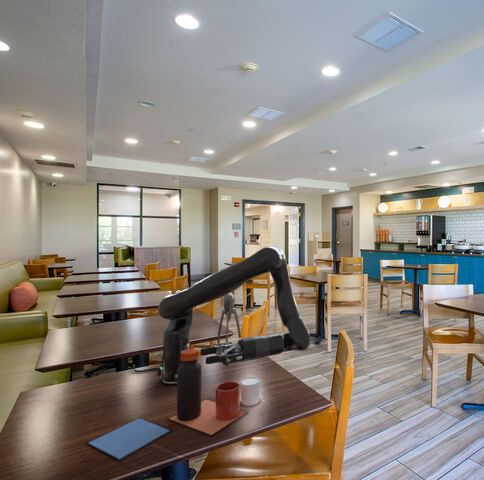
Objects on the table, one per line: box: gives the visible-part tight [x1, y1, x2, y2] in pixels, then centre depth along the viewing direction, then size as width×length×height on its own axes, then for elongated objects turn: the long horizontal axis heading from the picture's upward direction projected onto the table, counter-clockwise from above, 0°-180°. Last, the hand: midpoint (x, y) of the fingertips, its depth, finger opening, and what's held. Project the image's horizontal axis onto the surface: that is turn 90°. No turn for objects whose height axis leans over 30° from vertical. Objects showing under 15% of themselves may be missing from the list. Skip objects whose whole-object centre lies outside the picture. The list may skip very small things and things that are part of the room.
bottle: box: [176, 348, 202, 421], centre depth 106 cm, size 7×7×20 cm
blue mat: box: [87, 417, 171, 461], centre depth 95 cm, size 14×14×1 cm
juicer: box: [216, 292, 242, 366], centre depth 155 cm, size 10×11×30 cm
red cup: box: [215, 380, 241, 421], centre depth 107 cm, size 7×7×9 cm
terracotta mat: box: [168, 399, 247, 436], centre depth 107 cm, size 18×14×1 cm
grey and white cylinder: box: [239, 377, 262, 407], centre depth 116 cm, size 7×7×7 cm
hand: (203, 356), depth 108 cm, fingers open, 8 cm apart
